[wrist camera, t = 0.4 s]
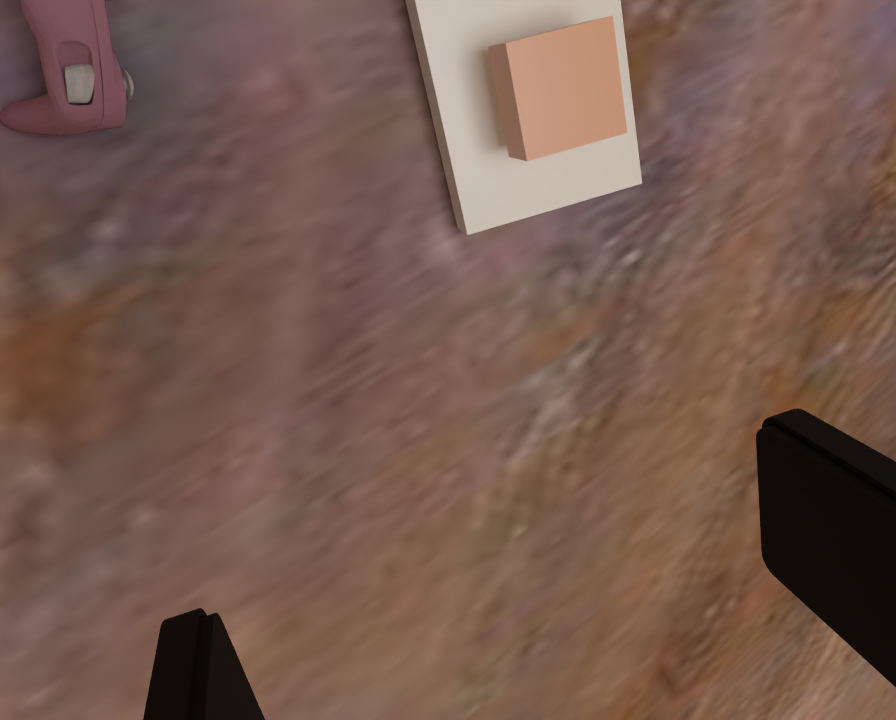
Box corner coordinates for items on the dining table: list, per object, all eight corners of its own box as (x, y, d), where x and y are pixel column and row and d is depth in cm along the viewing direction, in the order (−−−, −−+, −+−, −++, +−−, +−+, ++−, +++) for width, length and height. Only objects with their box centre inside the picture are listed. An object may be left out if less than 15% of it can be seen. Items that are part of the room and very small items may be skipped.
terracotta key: (487, 46, 32) (505, 43, 30) (588, 20, 33) (612, 15, 31) (509, 156, 34) (526, 161, 32) (603, 130, 35) (627, 132, 33)
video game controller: (107, 130, 34) (160, 133, 29) (-1, 136, 31) (38, 141, 26) (59, -111, 31) (111, -154, 26) (-67, -127, 28) (-37, -179, 23)
